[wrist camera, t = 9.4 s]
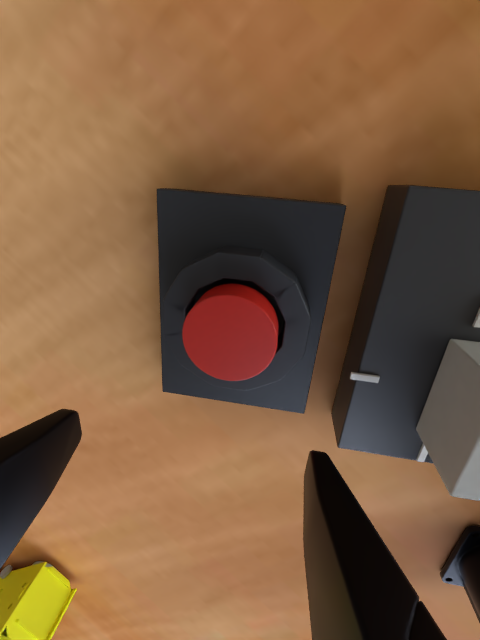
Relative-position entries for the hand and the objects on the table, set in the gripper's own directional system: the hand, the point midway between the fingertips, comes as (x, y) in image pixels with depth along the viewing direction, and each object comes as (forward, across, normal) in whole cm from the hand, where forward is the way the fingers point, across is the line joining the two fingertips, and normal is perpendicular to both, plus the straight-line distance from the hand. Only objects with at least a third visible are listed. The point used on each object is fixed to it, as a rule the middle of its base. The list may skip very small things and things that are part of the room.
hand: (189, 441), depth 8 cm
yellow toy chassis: (+11, +23, +37) cm, 45 cm away
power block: (+11, 0, 0) cm, 11 cm away
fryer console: (+11, -11, 0) cm, 16 cm away
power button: (+8, 0, 0) cm, 8 cm away
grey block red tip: (+8, -11, +2) cm, 14 cm away
